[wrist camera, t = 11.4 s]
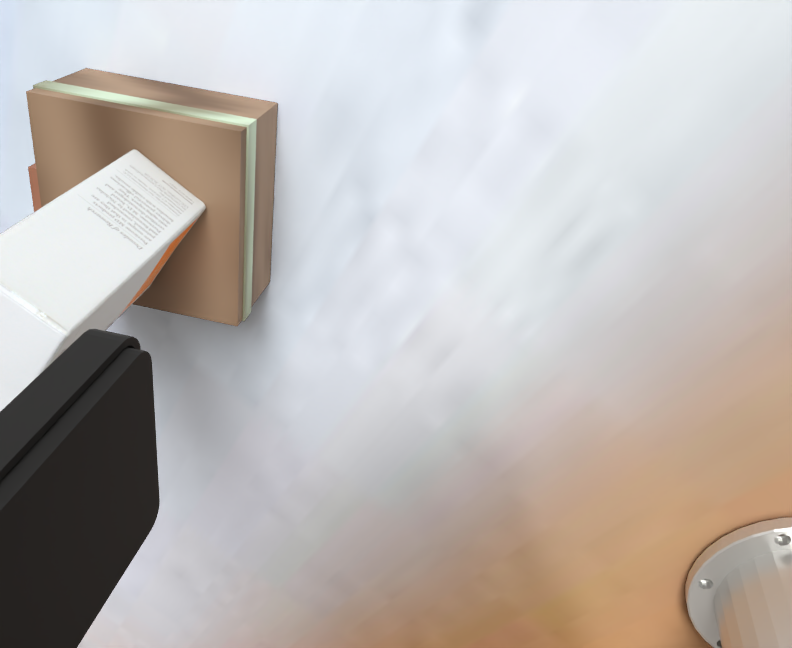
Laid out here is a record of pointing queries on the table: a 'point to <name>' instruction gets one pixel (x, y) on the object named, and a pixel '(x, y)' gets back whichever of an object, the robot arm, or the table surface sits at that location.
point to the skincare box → (85, 262)
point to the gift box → (171, 175)
